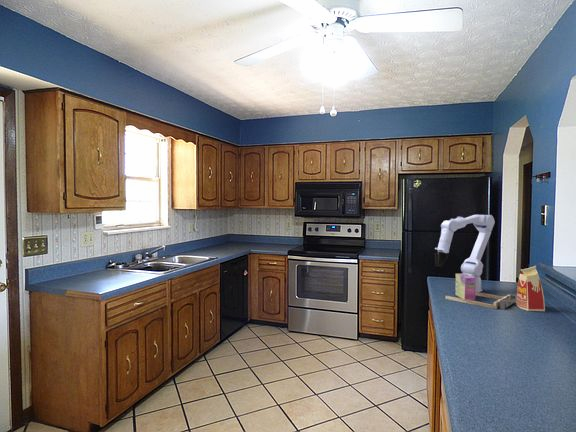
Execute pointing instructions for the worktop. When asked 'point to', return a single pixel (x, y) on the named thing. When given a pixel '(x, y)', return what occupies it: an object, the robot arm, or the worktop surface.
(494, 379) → the worktop surface
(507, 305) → the bay
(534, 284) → the milk carton
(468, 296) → the box
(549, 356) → the worktop surface
